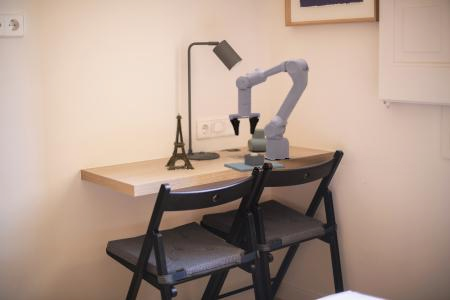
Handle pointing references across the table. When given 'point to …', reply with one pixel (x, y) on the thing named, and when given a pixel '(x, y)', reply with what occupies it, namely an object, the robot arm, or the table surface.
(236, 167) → the piston stand
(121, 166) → the table surface
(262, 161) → the dark grey square block
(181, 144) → the eiffel tower
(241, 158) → the table surface
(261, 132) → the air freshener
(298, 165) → the table surface
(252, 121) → the robot arm
